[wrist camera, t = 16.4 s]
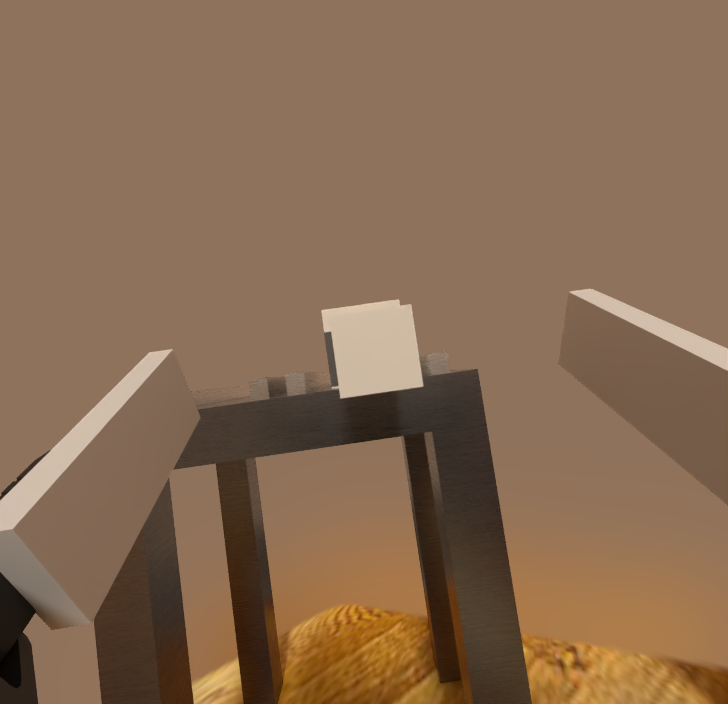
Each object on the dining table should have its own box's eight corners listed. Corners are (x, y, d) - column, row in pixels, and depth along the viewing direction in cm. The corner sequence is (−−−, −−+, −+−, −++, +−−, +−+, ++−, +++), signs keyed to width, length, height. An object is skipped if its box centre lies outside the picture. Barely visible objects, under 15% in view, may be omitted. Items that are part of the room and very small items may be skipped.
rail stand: (574, 964, 18) (474, 347, 20) (133, 1039, 18) (73, 404, 20) (462, 654, 38) (417, 360, 40) (254, 686, 38) (218, 389, 39)
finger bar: (465, 380, 11) (439, 218, 11) (298, 404, 11) (277, 241, 11) (399, 376, 30) (390, 316, 30) (339, 385, 30) (330, 325, 30)
